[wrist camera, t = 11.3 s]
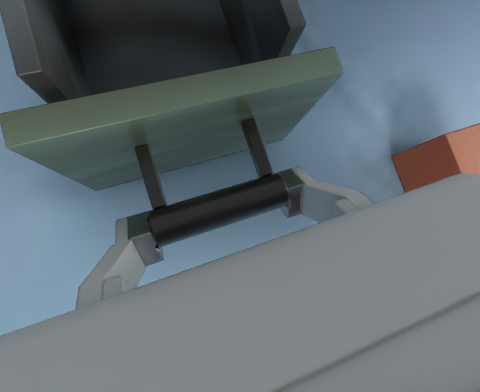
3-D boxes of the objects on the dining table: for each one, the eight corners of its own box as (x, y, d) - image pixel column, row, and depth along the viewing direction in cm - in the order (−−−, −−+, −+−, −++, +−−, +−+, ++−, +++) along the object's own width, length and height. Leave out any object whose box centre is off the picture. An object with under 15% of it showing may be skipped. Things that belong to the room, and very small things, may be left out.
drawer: (303, 200, 18) (383, 172, 10) (115, 262, 15) (40, 286, 8) (218, -40, 20) (234, -213, 12) (36, -20, 17) (-87, -223, 10)
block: (458, 195, 21) (529, 183, 17) (412, 212, 20) (474, 205, 16) (436, 141, 22) (499, 117, 17) (390, 156, 21) (444, 134, 16)
